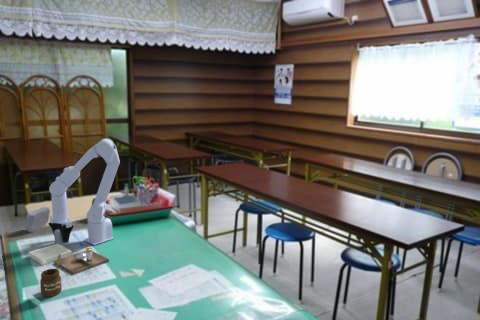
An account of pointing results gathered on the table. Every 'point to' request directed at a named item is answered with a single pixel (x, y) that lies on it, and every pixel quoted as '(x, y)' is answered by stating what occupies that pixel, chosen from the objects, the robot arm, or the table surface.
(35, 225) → the stone block
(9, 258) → the table surface
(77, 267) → the crank base
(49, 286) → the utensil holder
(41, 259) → the tray
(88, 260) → the crank
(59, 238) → the block
